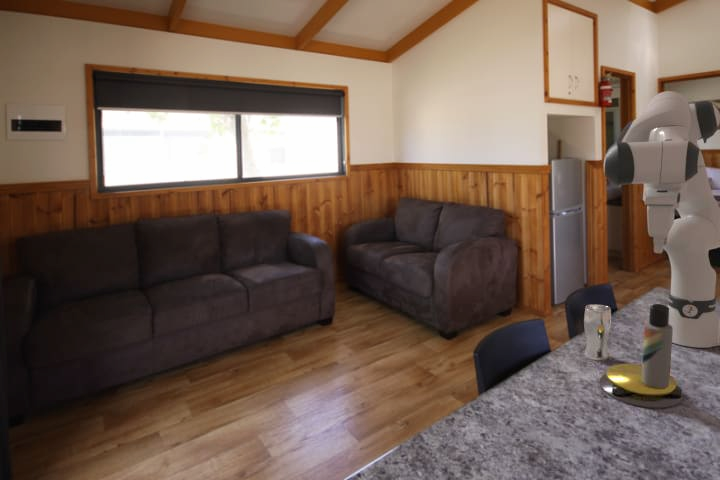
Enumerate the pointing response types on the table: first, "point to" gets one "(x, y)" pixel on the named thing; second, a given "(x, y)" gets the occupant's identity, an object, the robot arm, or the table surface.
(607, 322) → the beer glass
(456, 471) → the table surface
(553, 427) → the table surface
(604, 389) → the levelling base
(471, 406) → the table surface
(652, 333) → the lotion bottle
